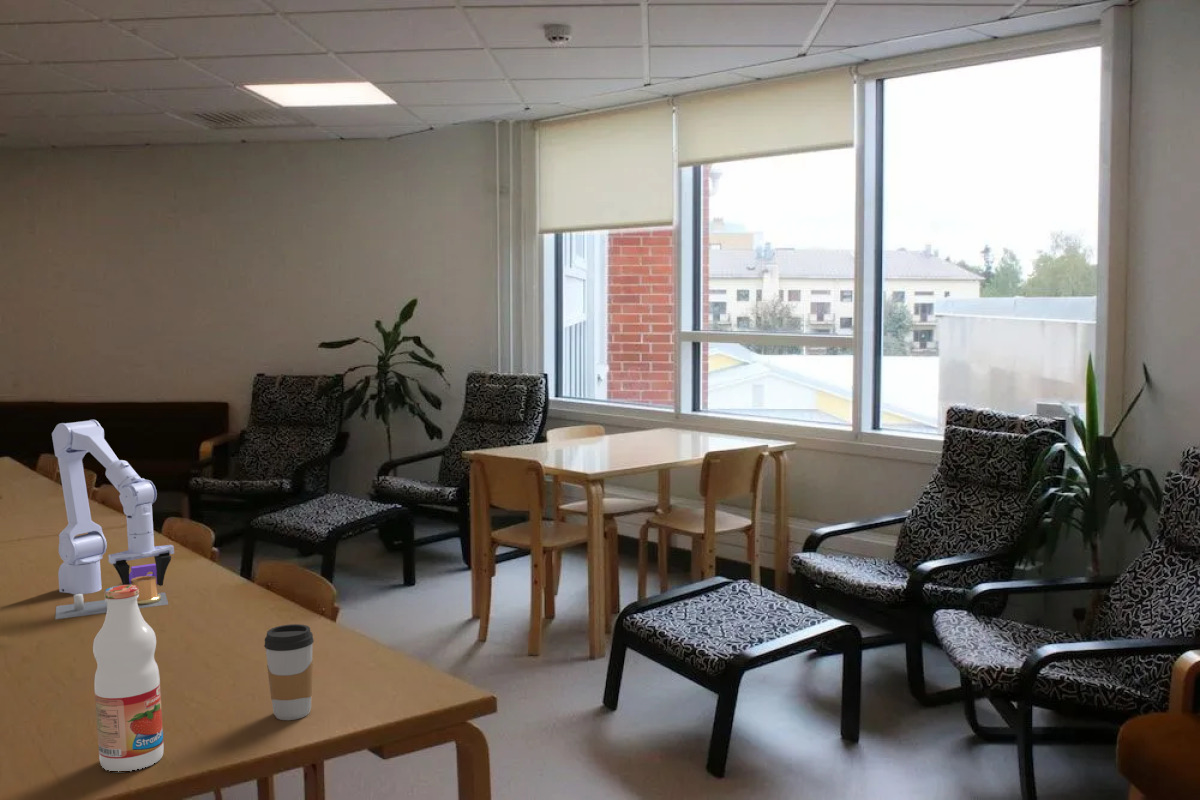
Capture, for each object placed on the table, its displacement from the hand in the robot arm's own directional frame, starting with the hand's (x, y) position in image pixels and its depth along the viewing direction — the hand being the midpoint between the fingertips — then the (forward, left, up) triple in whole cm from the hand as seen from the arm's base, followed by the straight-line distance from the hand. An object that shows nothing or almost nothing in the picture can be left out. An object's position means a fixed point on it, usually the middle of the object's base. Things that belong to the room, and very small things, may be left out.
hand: (143, 587), depth 257 cm
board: (-5, -5, -5) cm, 8 cm away
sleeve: (0, 0, -2) cm, 2 cm away
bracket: (-14, +15, -5) cm, 22 cm away
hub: (0, 0, -3) cm, 3 cm away
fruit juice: (+62, -71, -5) cm, 94 cm away
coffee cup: (+75, -47, -5) cm, 89 cm away
